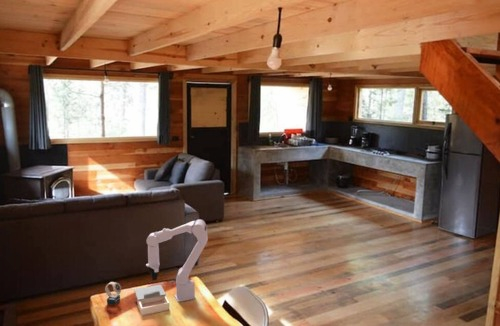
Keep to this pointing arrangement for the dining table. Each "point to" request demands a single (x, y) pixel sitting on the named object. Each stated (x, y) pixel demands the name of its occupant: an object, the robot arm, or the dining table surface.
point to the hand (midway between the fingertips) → (154, 279)
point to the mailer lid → (149, 292)
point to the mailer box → (153, 305)
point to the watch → (113, 298)
